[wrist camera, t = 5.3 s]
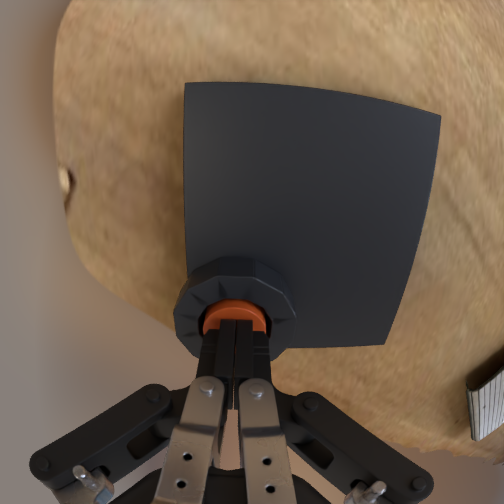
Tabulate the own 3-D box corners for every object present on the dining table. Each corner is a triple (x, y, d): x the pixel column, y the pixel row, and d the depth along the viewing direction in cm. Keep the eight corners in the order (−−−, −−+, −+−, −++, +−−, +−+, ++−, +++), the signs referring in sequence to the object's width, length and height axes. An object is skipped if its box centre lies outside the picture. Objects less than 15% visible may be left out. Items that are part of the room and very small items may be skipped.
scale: (190, 325, 19) (180, 365, 15) (182, 86, 12) (162, 78, 9) (376, 328, 19) (393, 364, 16) (424, 113, 13) (463, 118, 10)
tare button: (208, 330, 16) (204, 352, 15) (206, 285, 15) (201, 306, 13) (262, 333, 16) (263, 355, 15) (266, 287, 15) (268, 308, 13)
